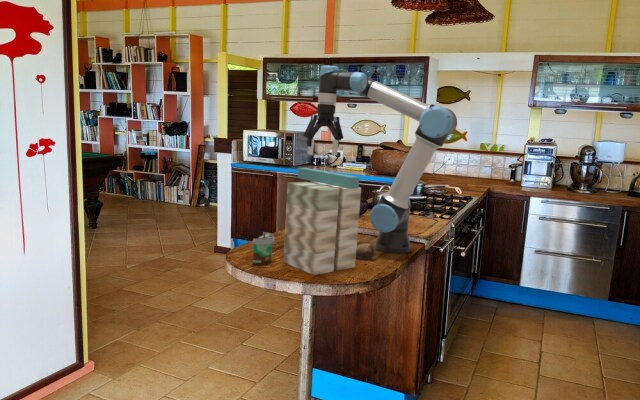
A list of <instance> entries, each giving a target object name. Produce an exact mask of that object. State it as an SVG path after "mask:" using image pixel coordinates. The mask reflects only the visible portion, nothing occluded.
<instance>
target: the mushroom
mask: <svg viewBox="0 0 640 400" xmlns="http://www.w3.org/2000/svg"><path fill="white" fill-rule="evenodd" d="M374 255H375V247H373V245H372V244H370V243H367V242H366V243H361V244H357V247H356V259H359V260H365V261H366V260H367V261H368V260H370V259H372V258H373V257H374Z"/></svg>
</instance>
